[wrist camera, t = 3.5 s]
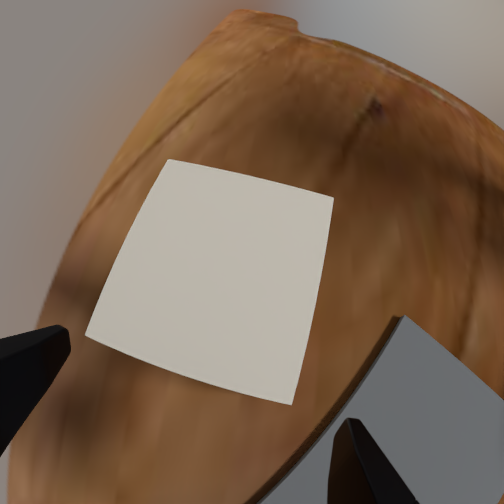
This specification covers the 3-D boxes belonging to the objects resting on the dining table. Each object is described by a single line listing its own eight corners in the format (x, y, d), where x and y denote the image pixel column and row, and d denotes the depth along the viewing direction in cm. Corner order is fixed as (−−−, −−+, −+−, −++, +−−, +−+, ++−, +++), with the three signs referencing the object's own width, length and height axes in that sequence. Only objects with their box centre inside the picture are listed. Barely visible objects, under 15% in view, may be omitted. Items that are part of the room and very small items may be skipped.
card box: (254, 395, 17) (291, 404, 5) (183, 374, 17) (84, 335, 6) (274, 320, 19) (333, 198, 7) (207, 301, 19) (168, 158, 8)
